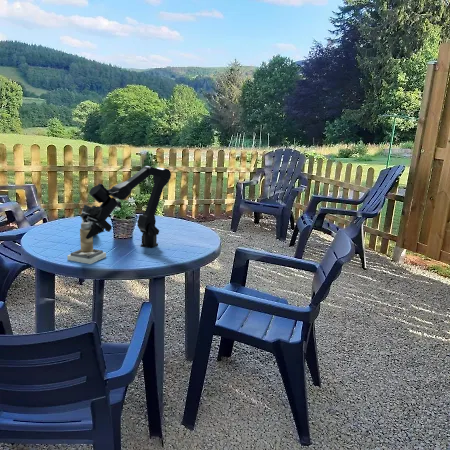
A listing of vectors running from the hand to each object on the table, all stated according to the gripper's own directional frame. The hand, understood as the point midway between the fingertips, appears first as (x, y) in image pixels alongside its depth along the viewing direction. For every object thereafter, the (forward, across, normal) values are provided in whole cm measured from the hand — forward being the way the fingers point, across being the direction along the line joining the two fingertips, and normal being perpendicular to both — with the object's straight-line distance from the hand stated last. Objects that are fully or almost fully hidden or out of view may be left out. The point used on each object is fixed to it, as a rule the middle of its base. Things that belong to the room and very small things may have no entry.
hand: (83, 237), depth 183 cm
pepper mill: (+4, 0, +6) cm, 7 cm away
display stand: (+6, 0, +8) cm, 10 cm away
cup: (-7, -32, +21) cm, 39 cm away
